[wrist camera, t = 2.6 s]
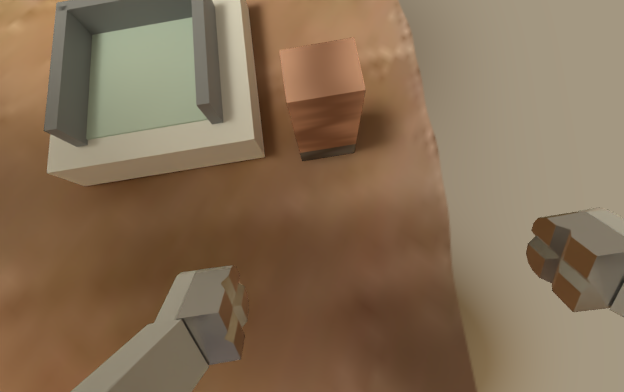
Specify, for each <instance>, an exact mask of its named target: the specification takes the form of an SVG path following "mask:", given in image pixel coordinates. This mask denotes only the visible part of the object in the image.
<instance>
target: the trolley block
mask: <svg viewBox="0 0 624 392" xmlns="http://www.w3.org/2000/svg"><path fill="white" fill-rule="evenodd" d="M279 52H280V59H281V66H282V73H283V81H284V88H285V95H286V102H287V106H288V110H289V114H290V118H291V121H292V125H293V129H294V132H295V136H296V140H297V144H298V147H299V151H300V155H301V158H302V161H306V160H312V159H319V158H325V157H331V156H337V155H343V154H350V153H354V151H355V146H356V140H357V135H358V129H359V124H360V118H361V113H362V107H363V102H364V96H365V91H366V89H365V84H364V80H363V75H362V71H361V66H360V62H359V57H358V53H357V48H356V43H355V39H354V37H353V38H347V39H341V40H336V41H330V42H324V43H318V44H312V45H306V46H301V47H295V48H289V49H283V50H279Z"/></svg>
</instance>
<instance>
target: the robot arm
mask: <svg viewBox="0 0 624 392" xmlns="http://www.w3.org/2000/svg"><path fill="white" fill-rule="evenodd" d="M532 232H533V233H534V234H535V237H534V238H533V239H532V240H531V241H530V242H529V243H528V246H527V251H526V255H527V259H528V263H529V265H530V267H531V268H532V270H533V271H534V272H535V273H536V274H537V275H538V277H539V278H541V279H544V280H546V281H548V282H550V283H552V291H553V292H554V293H555V294H556V295H557V296H558V297H559V298H560V299H561V300H562V301H563V302H564V303H565V304H566V305H567V306H568V307H569V308H570V309H571V310H572V311H573V312H578V311H587V310H596V309H605V308H610V310H611V311H613V312H615V313H617V314H619V315H621V316H622V317H624V219H623V218H622V217H620V216H618V215H616V214H615V213H613V212H611V211H610V210H608V209H603V208H593V209H587V210H582V211H578V212H572V213H566V214H559V215H553V216H548V217H541V218H538V219H537V220H536V221H535V222H534V224H533V227H532ZM239 279H240V273H239V271H238V269H237V267H236V266H234V265H231V266H223V267H215V268H208V269H200V270H195V271H188V272H181V273H180V274H178V275H177V276H176V278H175V280H174V282H173V284H172V287H171V289H170V291H169V293H168V295H167V297H166V299H165V301H164V303H163V305H162V307H161V309H160V311H159V313H158V315H157V318H156V320H155V322H154V323H152V324H148V325H146V326H145V327H144V328H143V329H142V330H141V331H140V332H138V333H137V334H136V335H135V336H134V337H133V338H131V339H130V340H129V341H128V342H127V343H126V344H125V345H123V346H122V347H121V348H120V349H119V350H118V351H117V352H115V353H114V354H113V355H112V356H111V357H110V358H109V359H107V360H106V361H105V362H104V363H103V364H102V365H101V366H99V367H98V368H97V369H96V370H95V371H94V372H93V373H91V374H90V375H89V376H88V377H87V378H86V379H84V380H83V381H82V382H81V383H80V384H79V385H78V386H76V387H75V388H74V389H73V390H72V391H71V392H192V390H193V389H194V388H195V386H196V385H197V383H198V382H199V380H200V379H201V378H202V376H203V375H204V373H205V372H206V370H207V369H208V368H209V366H208V365H212V364H217V363H223V362H229V361H235V360H241V356H242V351H243V345H244V339H245V334H244V332H243V330H242V327H243V326H244V324H245V323H246V322H247V321H248V314H249V300H248V295H247V292H246V289H245V287H244V286H243V285H241V284H240V283H239Z"/></svg>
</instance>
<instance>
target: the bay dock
mask: <svg viewBox="0 0 624 392" xmlns="http://www.w3.org/2000/svg"><path fill="white" fill-rule="evenodd" d="M44 131H45V132H47V133H49V134H50V143H49V154H48V164H47V173H48V174H51V175H54V176H56V177H59V178H62V179H65V180H68V181H71V182H74V183H77V184H79V185H82V186H90V185H96V184H102V183H108V182H115V181H121V180H127V179H133V178H139V177H146V176H152V175H158V174H164V173H170V172H176V171H183V170H189V169H195V168H201V167H207V166H213V165H220V164H226V163H232V162H238V161H244V160H251V159H257V158H263V157H265V153H264V144H263V135H262V126H261V117H260V108H259V99H258V90H257V81H256V72H255V63H254V54H253V45H252V36H251V26H250V17H249V9H248V6H247V3H246V0H69V1H64V2H58V3H57V5H56V15H55V25H54V35H53V45H52V55H51V65H50V75H49V85H48V95H47V105H46V114H45V124H44Z"/></svg>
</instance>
